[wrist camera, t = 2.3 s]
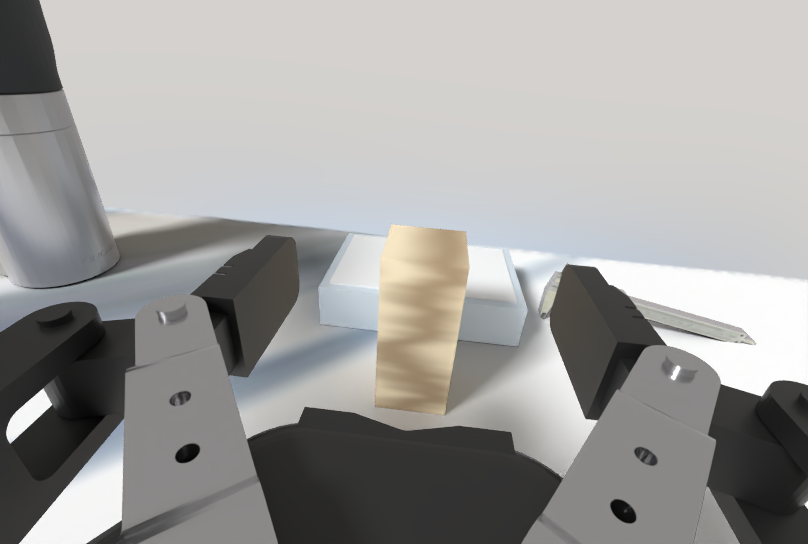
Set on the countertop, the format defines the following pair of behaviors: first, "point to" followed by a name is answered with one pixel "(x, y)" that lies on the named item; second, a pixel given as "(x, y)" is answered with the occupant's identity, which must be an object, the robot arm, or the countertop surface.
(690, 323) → the caliper
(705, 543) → the countertop surface
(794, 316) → the countertop surface
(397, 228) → the maple block
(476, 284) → the white chamfered block
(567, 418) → the countertop surface
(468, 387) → the countertop surface
